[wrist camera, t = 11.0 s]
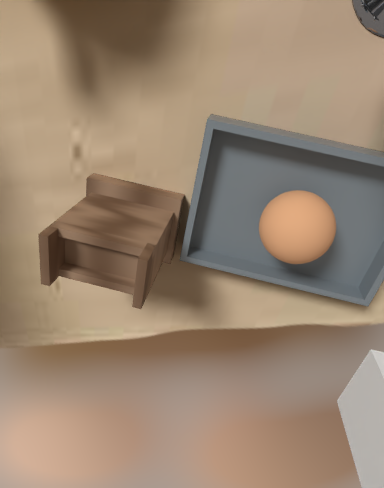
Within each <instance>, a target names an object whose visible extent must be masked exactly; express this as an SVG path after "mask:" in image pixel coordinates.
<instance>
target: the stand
mask: <svg viewBox="0 0 384 488" xmlns="http://www.w3.org/2000/svg"><path fill="white" fill-rule="evenodd" d="M183 200H184V194H180V193H175V192H171V191H167V190H163V189H158V188H154V187H150V186H145V185H141V184H137V183H133V182H128V181H124V180H120V179H115V178H111V177H107V176H103V175H98V174H94V173H93V174H92V175H90V176H89V177H87V187H86V197H85V198H84V199H82V200H81V201H80V202H79V203H77V204H76V205H75V206H74V207H72V208H71V209H70V210H69V211H67V212H66V213H65V214H64V215H62V216H61V217H60V218H59V219H57V220H56V221H55V222H54V223H52V224H51V225H50V226H48V227H47V228H46V229H45V230H43V231H42V232H41V233H40V234H39V253H40V271H41V284H44V285H48V286H50V285H51V284H52V283H53V282H54V281H55V280H56V279H57V278H58V276H61V277H65V278H69V279H73V280H77V281H81V282H85V283H89V284H93V285H97V286H101V287H105V288H109V289H113V290H117V291H121V292H125V293H129V294H133V295H134V296H133V305H132V307H135V308H139V309H141V308H142V306H143V304H144V302H145V299H146V297H147V295H148V293H149V291H150V288H151V286H152V284H153V282H154V280H155V277H156V275H157V273H158V271H159V269H160V266H161V264H162V262H165V263H169V264H170V263H171V260H172V258H173V255H174V249H175V244H176V238H177V233H178V227H179V222H180V216H181V211H182V205H183Z"/></svg>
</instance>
